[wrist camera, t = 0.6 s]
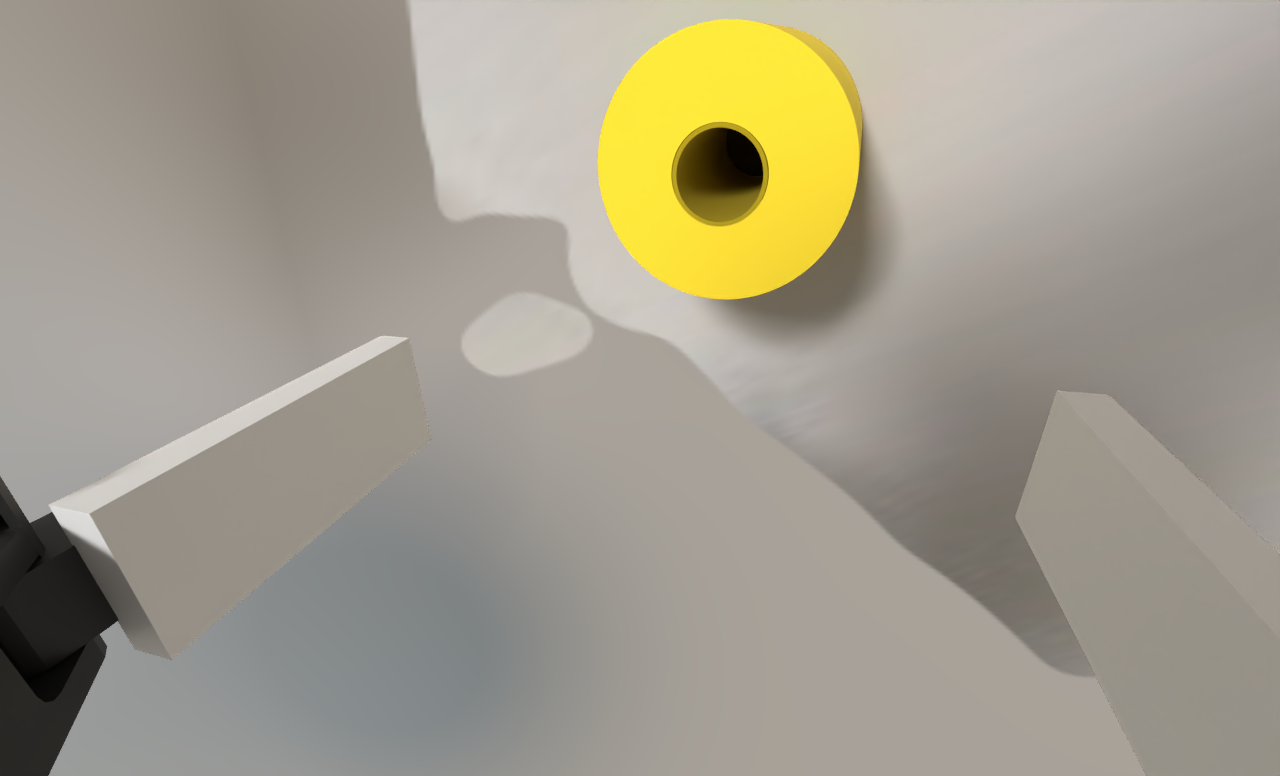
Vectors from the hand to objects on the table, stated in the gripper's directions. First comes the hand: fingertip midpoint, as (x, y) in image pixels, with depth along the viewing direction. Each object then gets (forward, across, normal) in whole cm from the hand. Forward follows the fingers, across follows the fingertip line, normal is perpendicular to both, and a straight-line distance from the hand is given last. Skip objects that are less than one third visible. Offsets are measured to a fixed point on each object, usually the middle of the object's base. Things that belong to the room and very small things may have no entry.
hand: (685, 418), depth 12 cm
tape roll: (+22, 0, +5) cm, 23 cm away
